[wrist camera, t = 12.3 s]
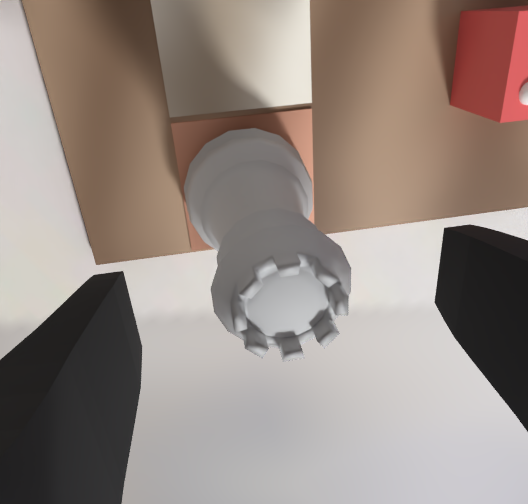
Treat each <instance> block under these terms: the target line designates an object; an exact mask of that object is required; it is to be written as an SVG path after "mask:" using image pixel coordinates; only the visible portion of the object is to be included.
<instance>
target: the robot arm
mask: <svg viewBox="0 0 528 504" xmlns="http://www.w3.org/2000/svg"><path fill="white" fill-rule="evenodd" d="M435 304H436V306H437V308H438V309H439V311H440V313H441V315H442V317H443V319H444V321H445V322H446V324H447V326H448V327H449V329H450V331H451V332H452V334H453V335H454V337H455V339H456V340H457V341H458V342H459V344H460V345H461V346H462V348H463V349H464V350H465V352H466V353H467V354H468V356H469V357H470V358H471V359H472V361H473V362H474V363H475V364H476V366H477V367H478V368H479V370H480V371H481V372H482V373H483V375H484V376H485V377H486V378H487V380H488V381H489V382H490V383H491V385H492V386H493V387H494V388H495V390H496V391H497V392H498V393H499V395H500V396H501V397H502V398H503V400H504V401H505V402H506V403H507V405H508V406H509V407H510V409H511V410H512V411H513V412H514V414H515V415H516V416H517V418H518V419H519V420H520V422H521V423H522V424H523V426H524V427H525V428H526V430H527V431H528V240H525V239H522V238H518V237H515V236H512V235H509V234H506V233H502V232H499V231H495V230H492V229H488V228H484V227H480V226H475V225H463V226H456V227H448V228H444V234H443V242H442V249H441V257H440V265H439V273H438V281H437V289H436V296H435ZM141 365H142V345H141V341H140V336H139V333H138V329H137V325H136V321H135V317H134V313H133V309H132V305H131V301H130V297H129V293H128V289H127V285H126V281H125V277H124V273H123V271H120V272H113V273H105V274H98V275H93V276H92V277H91V278H90V279H88V280H87V281H86V282H85V283H84V284H83V285H82V286H81V287H80V288H79V289H78V290H77V291H76V292H75V293H73V294H72V295H71V296H70V297H69V298H68V299H67V300H66V301H65V302H64V303H63V304H62V305H61V306H60V307H59V308H58V309H57V310H56V311H55V312H54V313H53V314H52V315H51V316H49V317H48V318H47V319H46V320H45V321H44V322H43V323H42V324H41V325H40V326H39V327H38V328H37V329H36V330H34V331H33V332H32V333H31V334H30V335H29V336H27V337H26V338H25V339H24V340H23V341H22V342H21V343H19V344H18V345H17V346H16V347H15V348H14V349H12V350H11V351H10V352H9V353H8V354H7V355H5V356H4V357H3V358H2V359H1V360H0V504H121V502H122V494H123V487H124V480H125V475H126V469H127V463H128V457H129V452H130V446H131V441H132V435H133V429H134V423H135V418H136V411H137V406H138V400H139V394H140V388H141V367H142V366H141Z"/></svg>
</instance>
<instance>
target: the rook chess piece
mask: <svg viewBox="0 0 528 504" xmlns="http://www.w3.org/2000/svg"><path fill="white" fill-rule="evenodd" d="M184 193H185V199H186V205H187V211H188V213H189V219H190V221H191V223H192V225H193V226H194V228H195V229H196V231H197V232H198V234H199V235H200V237H201V238H202V240H203V241H204V242H205V243H206V244H208V245H209V246H211V247H212V248H214V249H215V250H217V251H218V255H217V263H218V267H217V270H216V274H215V277H214V280H213V283H212V286H211V294H212V300H213V307H214V312H215V314H216V315H217V317H218V318H219V319H220V321H221V322H222V324H223V325H224V326H225V328H226V329H227V331H229V332H230V333H232V334H234V335H235V336H237V337H239V338H240V339H242V340H244V345H245V349H247V350H249V351H251V352H252V353H254V354H256V355H257V356H259V357H261V358H263V356H264V355H265V353H266V352H267V350H268V349H269V348H268V347H274V348H279V349H280V353H281V356H282V360H283V361H290V360H296V359H302V358H304V354H303V351H302V348H301V344H303V343H305V342H307V341H309V340H311V339H313V338H315V337H316V339H317V341H318V342H319V343H320V344H321V345H322V346H323V348H325V347H326V346H327V345H328V344H329V343H330V342H331V341H332V340H333V339H334V338H335V337H337V335H339V331H338V329H337V327H336V325H335V323H334V320H335V319H336V318H337V317H338V316H339V315H348V297H349V294H350V292H351V267H350V265H349V263H348V261H347V259H346V257H345V255H344V253H343V250H342V248H341V247H340V246H339V245H338V244H336V243H335V242H334V241H333V240H331V239H330V238H329V237H327V236H326V235H325V234H324V233H322V232H321V231H318V229H317V227H316V225H314V224H313V223H312V222H311V221H309V220H308V219H309V216H310V214H311V211H312V209H313V194H312V180H311V178H310V175H309V173H308V171H307V169H306V167H305V165H304V163H303V161H302V159H301V157H300V154H299V152H298V151H297V150H296V149H295V148H294V147H292V146H291V145H290V144H289V143H288V142H287V141H285V140H284V139H283V138H282V137H281V136H280V135H277V134H273V133H270V132H267V131H263V130H260V129H257V128H250V129H241V130H232V131H228V132H226V133H224V134H222V135H220V136H219V137H217V138H215V139H213V140H211V141H210V142H208V143H206V144H205V145H204V146H203V148H202V149H201V150H200V152H199V153H198V154H197V155H196V157H195V158H194V159H193V160H192V162H191V163H190V165H189V169H188V173H187V177H186V180H185V184H184Z"/></svg>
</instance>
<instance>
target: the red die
mask: <svg viewBox="0 0 528 504" xmlns="http://www.w3.org/2000/svg"><path fill="white" fill-rule="evenodd" d="M450 105H451V106H454V107H457V108H459V109H462V110H465V111H468V112H471V113H474V114H476V115H479V116H482V117H485V118H488V119H490V120H493V121H496V122H499V123H504V122H513V121H522V120H528V5H526V6H515V7H503V8H491V9H480V10H468V11H461V14H460V23H459V31H458V40H457V48H456V57H455V66H454V74H453V83H452V91H451V100H450Z"/></svg>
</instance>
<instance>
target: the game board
mask: <svg viewBox="0 0 528 504" xmlns="http://www.w3.org/2000/svg"><path fill="white" fill-rule="evenodd" d="M22 3H23V7H24V10H25V14H26V17H27V21H28V24H29V28H30V31H31V35H32V39H33V42H34V46H35V49H36V53H37V56H38V60H39V63H40V67H41V71H42V74H43V78H44V81H45V85H46V88H47V92H48V95H49V99H50V103H51V106H52V110H53V113H54V117H55V120H56V124H57V127H58V131H59V134H60V138H61V142H62V145H63V149H64V152H65V156H66V159H67V163H68V166H69V170H70V174H71V177H72V181H73V184H74V188H75V191H76V195H77V198H78V202H79V206H80V209H81V213H82V216H83V220H84V223H85V227H86V230H87V234H88V237H89V241H90V245H91V248H92V252H93V255H94V259H95V262H96V265H100V264H107V263H115V262H122V261H129V260H137V259H144V258H152V257H159V256H167V255H174V254H182V253H189V252H196V251H204V250H211V249H214V248H212V247H211V246H209V245H208V244H206V243H205V242H204V241H203V240H202V238H201V237H200V235H199V234H198V232H197V231H196V229H195V228H194V226H193V225H192V223H191V221H190V219H189V213H188V211H187V205H186V199H185V193H184V184H185V180H186V177H187V173H188V169H189V165H190V163H191V162H192V160H193V159H194V158H195V157H196V155H197V154H198V153H199V152H200V150H201V149H202V148H203V146H204V145H205V144H206V143H208V142H210V141H211V140H213V139H215V138H217V137H219V136H220V135H222V134H224V133H226V132H228V131H232V130H241V129H250V128H257V129H260V130H263V131H267V132H270V133H273V134H277V135H280V136H281V137H282V138H283V139H284V140H285V141H287V142H288V143H289V144H290V145H291V146H292V147H294V148H295V149H296V150H297V151H298V152H299V154H300V157H301V159H302V161H303V163H304V165H305V167H306V169H307V171H308V173H309V175H310V178H311V180H312V194H313V209H312V211H311V214H310V216H309V219H308V220H309V221H311V222H312V223H313V224H314V225H316V227H317V229H318V231H321V232H322V233H324V234H330V233H338V232H345V231H353V230H360V229H368V228H375V227H383V226H390V225H397V224H405V223H412V222H420V221H427V220H435V219H442V218H450V217H457V216H464V215H472V214H479V213H487V212H494V211H502V210H509V209H517V208H524V207H528V120H522V121H513V122H504V123H499V122H496V121H493V120H490V119H488V118H485V117H482V116H479V115H476V114H474V113H471V112H468V111H465V110H462V109H459V108H457V107H454V106H451V105H450V100H451V91H452V83H453V74H454V66H455V57H456V48H457V40H458V31H459V23H460V14H461V11H468V10H480V9H491V8H503V7H515V6H526V5H528V0H22Z"/></svg>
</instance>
